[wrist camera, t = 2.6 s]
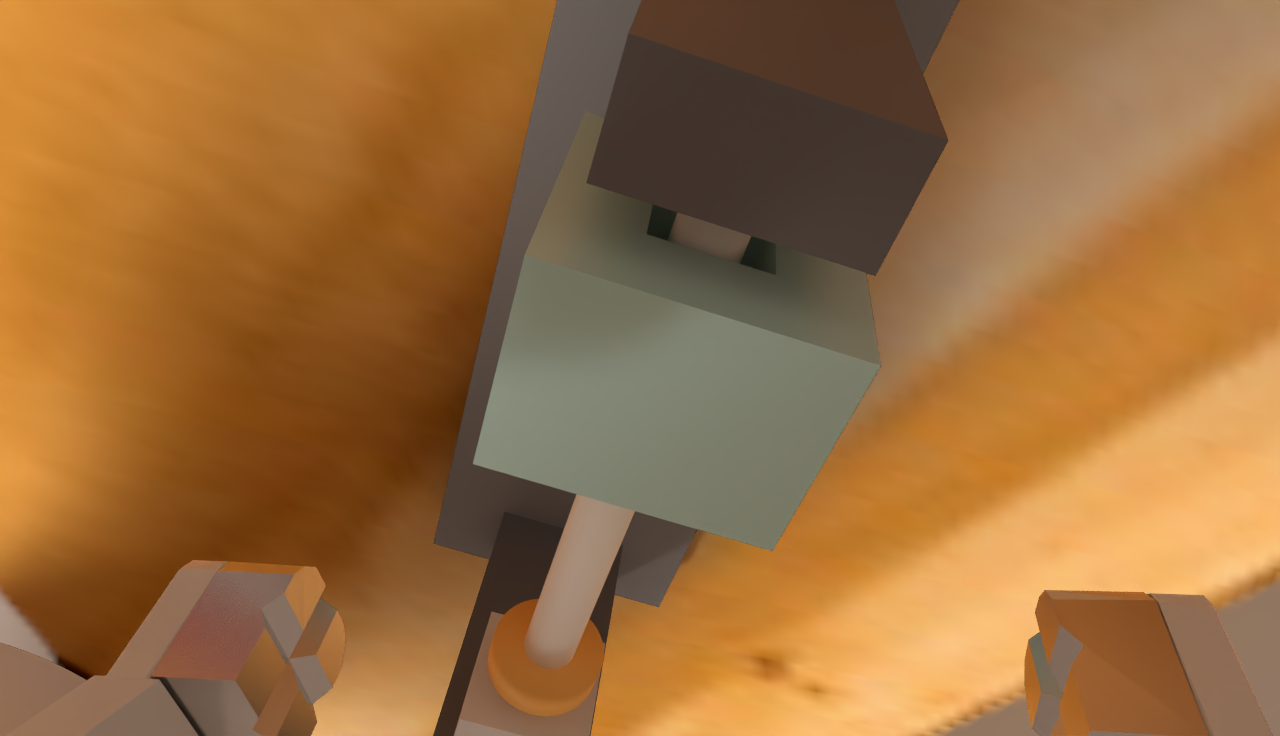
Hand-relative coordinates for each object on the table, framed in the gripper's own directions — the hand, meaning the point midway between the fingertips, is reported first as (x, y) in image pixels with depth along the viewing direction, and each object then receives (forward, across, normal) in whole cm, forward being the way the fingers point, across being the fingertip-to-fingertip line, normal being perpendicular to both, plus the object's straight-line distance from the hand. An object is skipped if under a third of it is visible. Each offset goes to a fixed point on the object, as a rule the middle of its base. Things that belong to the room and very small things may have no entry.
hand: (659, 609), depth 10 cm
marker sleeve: (+9, 0, 0) cm, 9 cm away
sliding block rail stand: (+15, +3, +5) cm, 16 cm away
